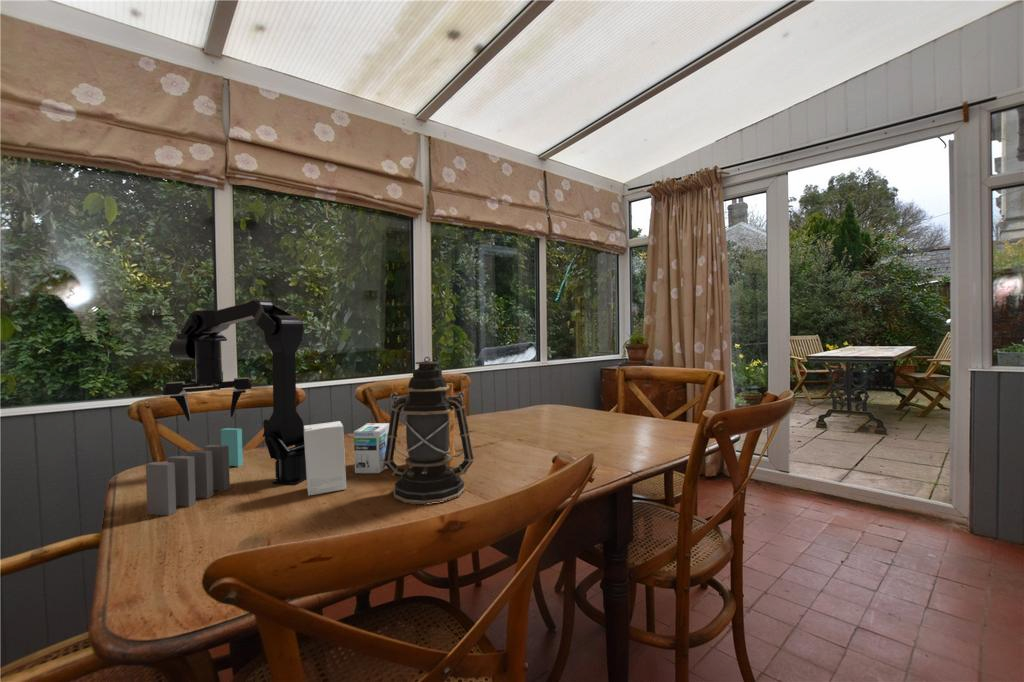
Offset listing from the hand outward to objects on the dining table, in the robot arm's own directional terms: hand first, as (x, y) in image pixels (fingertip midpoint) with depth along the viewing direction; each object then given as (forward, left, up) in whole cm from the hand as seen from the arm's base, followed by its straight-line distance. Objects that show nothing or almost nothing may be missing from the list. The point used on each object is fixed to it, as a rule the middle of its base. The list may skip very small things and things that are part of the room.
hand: (210, 419), depth 117 cm
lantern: (-62, +7, -14) cm, 64 cm away
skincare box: (-38, +9, -14) cm, 41 cm away
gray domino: (-13, +26, -14) cm, 32 cm away
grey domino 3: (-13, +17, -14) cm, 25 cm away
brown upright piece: (-56, -11, -14) cm, 59 cm away
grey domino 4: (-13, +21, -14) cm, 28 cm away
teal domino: (-2, -4, -14) cm, 14 cm away
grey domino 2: (-13, +12, -14) cm, 22 cm away
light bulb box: (-41, -8, -14) cm, 44 cm away
